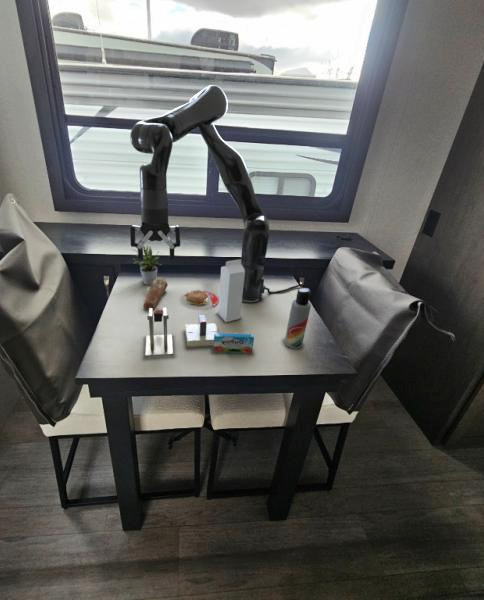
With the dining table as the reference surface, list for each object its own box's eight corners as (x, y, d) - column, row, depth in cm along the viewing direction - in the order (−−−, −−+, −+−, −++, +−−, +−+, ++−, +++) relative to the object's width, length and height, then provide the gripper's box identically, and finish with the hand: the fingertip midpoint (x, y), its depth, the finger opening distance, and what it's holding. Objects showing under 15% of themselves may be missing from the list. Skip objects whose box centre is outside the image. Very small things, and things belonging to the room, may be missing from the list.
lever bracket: (146, 338, 100) (144, 303, 94) (171, 337, 102) (171, 302, 96) (145, 358, 92) (142, 321, 86) (173, 357, 93) (172, 320, 87)
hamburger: (218, 309, 119) (219, 295, 116) (181, 308, 118) (181, 294, 115) (217, 292, 131) (217, 279, 129) (183, 291, 130) (183, 278, 127)
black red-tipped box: (198, 327, 102) (198, 314, 100) (204, 327, 103) (204, 314, 100) (199, 335, 98) (200, 322, 96) (206, 335, 99) (206, 322, 96)
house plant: (125, 278, 137) (121, 242, 129) (154, 272, 145) (153, 237, 137) (138, 291, 127) (135, 253, 120) (169, 284, 135) (168, 247, 127)
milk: (240, 319, 114) (246, 262, 104) (225, 322, 112) (230, 265, 101) (231, 310, 119) (236, 256, 108) (217, 314, 116) (221, 258, 105)
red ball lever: (153, 318, 103) (153, 308, 102) (163, 317, 103) (163, 307, 103) (152, 323, 90) (152, 312, 90) (163, 322, 91) (163, 311, 90)
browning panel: (214, 330, 107) (215, 322, 105) (219, 346, 99) (219, 338, 98) (185, 332, 105) (185, 324, 103) (187, 348, 97) (187, 340, 96)
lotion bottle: (298, 351, 100) (311, 295, 90) (281, 344, 102) (292, 289, 93) (304, 342, 104) (316, 288, 95) (288, 336, 107) (298, 283, 97)
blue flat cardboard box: (213, 352, 96) (214, 336, 93) (213, 349, 98) (214, 333, 95) (251, 353, 97) (254, 337, 94) (251, 350, 98) (253, 334, 96)
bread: (168, 289, 131) (167, 277, 128) (155, 313, 114) (154, 299, 111) (153, 288, 131) (152, 275, 128) (138, 311, 114) (137, 298, 111)
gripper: (179, 202, 92) (179, 254, 100) (128, 201, 90) (133, 255, 97) (180, 208, 86) (180, 264, 94) (126, 207, 83) (131, 264, 91)
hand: (156, 259), depth 95 cm, fingers open, 8 cm apart
